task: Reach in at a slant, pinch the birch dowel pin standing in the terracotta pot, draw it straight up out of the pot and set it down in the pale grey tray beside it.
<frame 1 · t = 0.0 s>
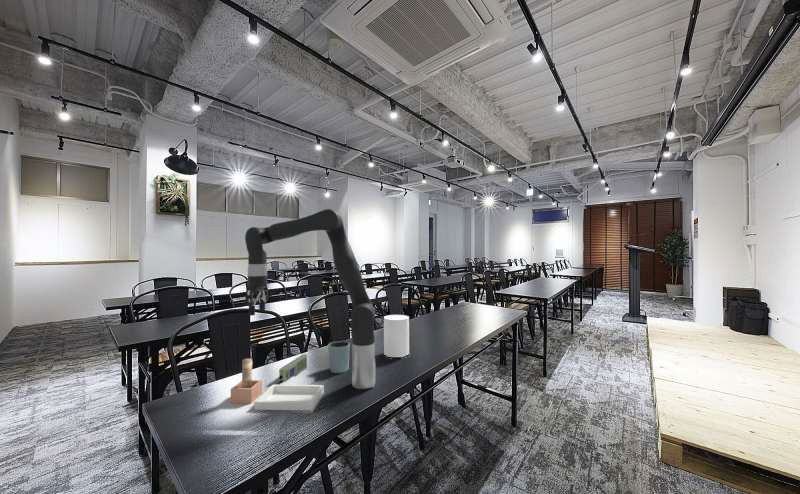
hand: (257, 313, 127), 29 cm above the table, tool pointing down, fingers open, 8 cm apart
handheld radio: (290, 378, 132), on the table
teal cup: (339, 369, 141), on the table
tray: (291, 402, 110), on the table
canister: (396, 354, 162), on the table
pot: (246, 400, 111), on the table
dowel pin: (246, 398, 111), point 1 cm above the table, touching pot
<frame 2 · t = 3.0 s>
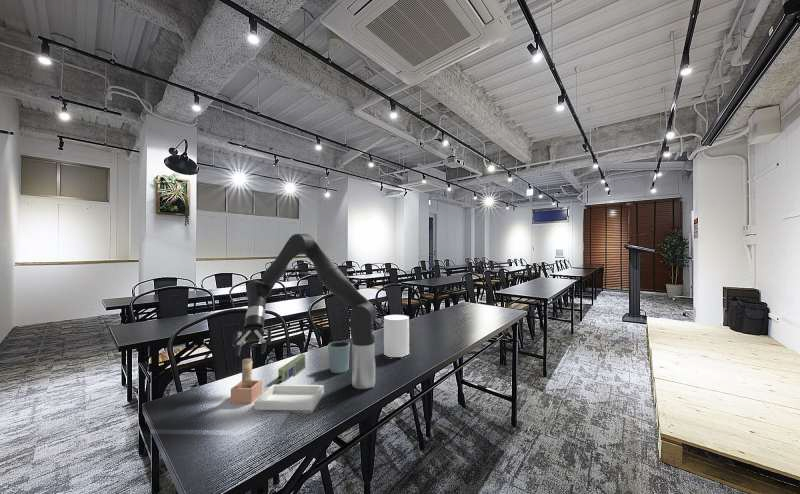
hand: (250, 354, 119), 15 cm above the table, tool tilted 45°, fingers open, 8 cm apart
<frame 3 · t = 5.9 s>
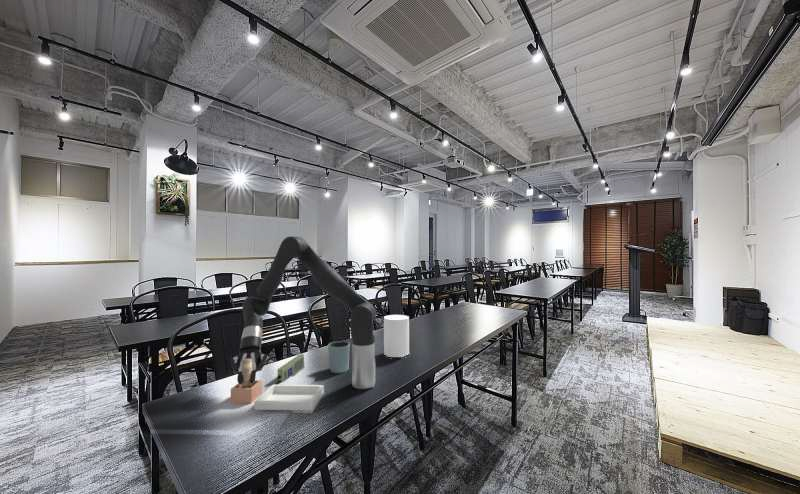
hand: (246, 382, 110), 7 cm above the table, tool tilted 45°, fingers closed on dowel pin, 3 cm apart
dowel pin: (246, 398, 111), point 1 cm above the table, touching gripper, pot
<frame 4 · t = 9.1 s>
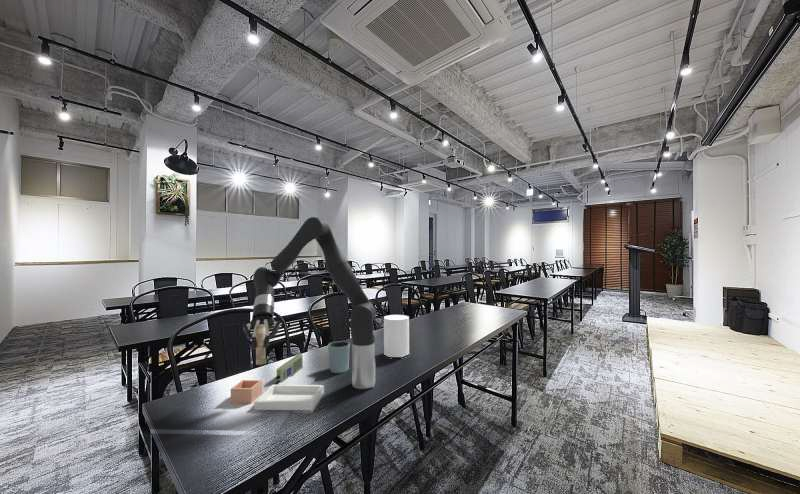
hand: (260, 347, 109), 20 cm above the table, tool tilted 45°, fingers closed on dowel pin, 3 cm apart
dowel pin: (260, 363, 111), point 14 cm above the table, touching gripper
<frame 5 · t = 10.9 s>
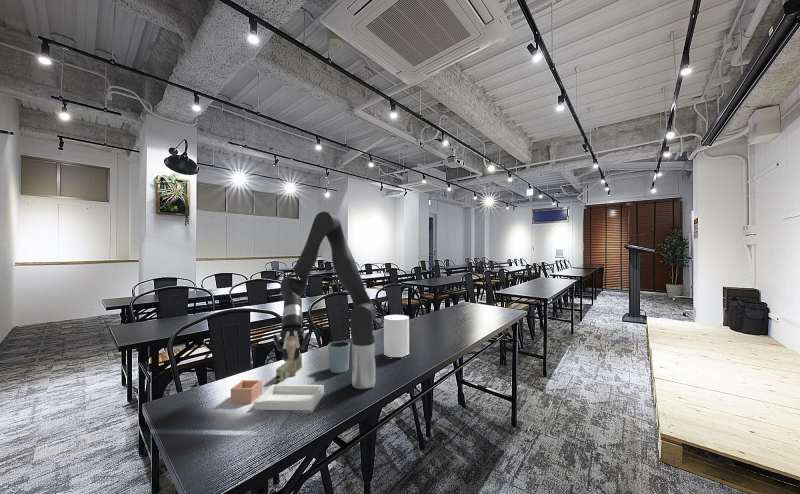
hand: (290, 359, 108), 16 cm above the table, tool tilted 45°, fingers closed on dowel pin, 3 cm apart
dowel pin: (290, 375, 110), point 10 cm above the table, touching gripper
when the fingers open (9 cm above the table, at t = 12.4 s): dowel pin drops 1 cm, resting on tray.
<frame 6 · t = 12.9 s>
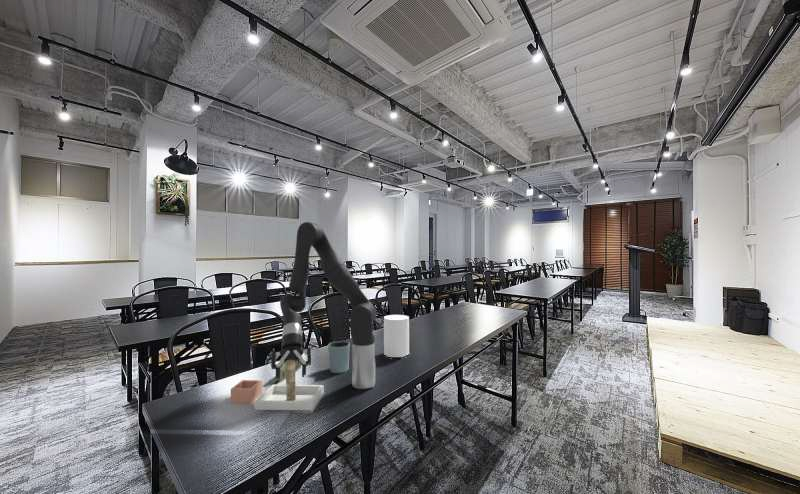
hand: (291, 377, 109), 10 cm above the table, tool tilted 45°, fingers open, 8 cm apart
dowel pin: (291, 399, 110), point 1 cm above the table, touching tray
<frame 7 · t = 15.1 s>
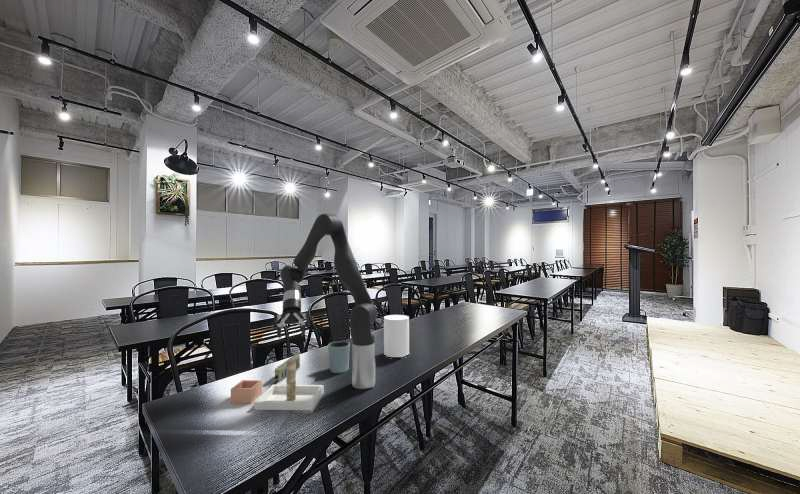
hand: (291, 336, 120), 22 cm above the table, tool tilted 45°, fingers open, 8 cm apart
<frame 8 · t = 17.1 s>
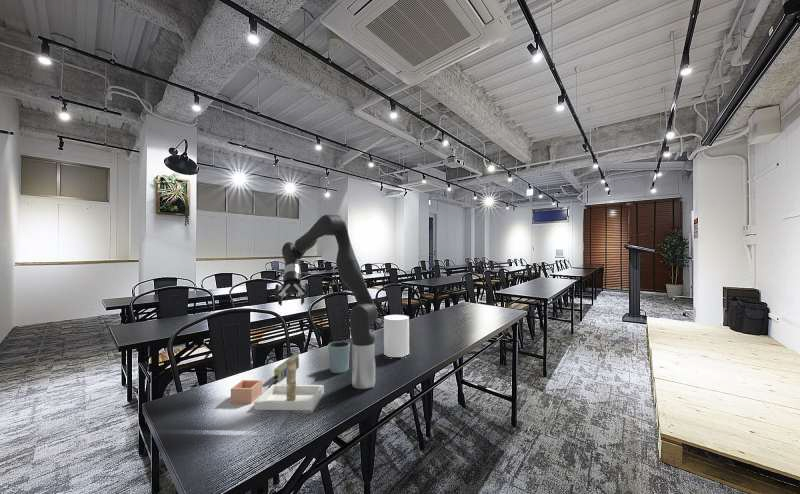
hand: (291, 304, 129), 33 cm above the table, tool tilted 45°, fingers open, 8 cm apart
at the end: dowel pin inside the target area on the tray (0.1 cm from its centre), point 1.0 cm above the tray's base; the gripper is holding nothing; dowel pin moved 17.0 cm from its start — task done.
